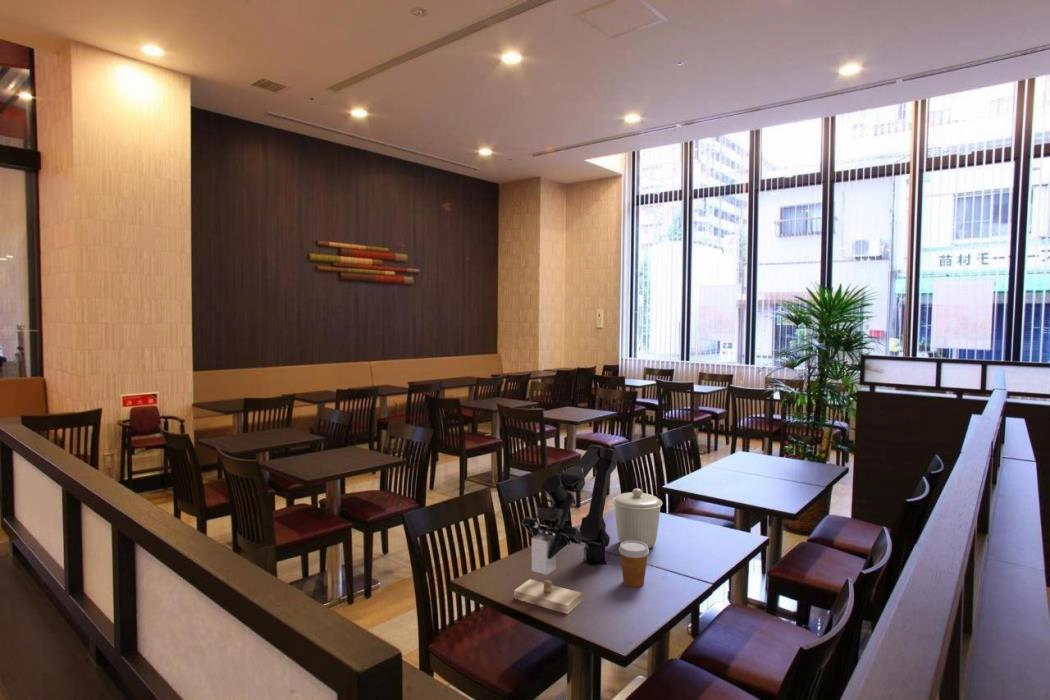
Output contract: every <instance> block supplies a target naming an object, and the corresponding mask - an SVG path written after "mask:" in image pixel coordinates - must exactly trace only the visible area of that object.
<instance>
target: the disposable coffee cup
mask: <svg viewBox="0 0 1050 700" xmlns="http://www.w3.org/2000/svg"><path fill="white" fill-rule="evenodd" d="M649 549H650V548H649ZM649 549H648V546H647V545H646V544H645V543H643V542H639V541H625V542H622V543H620V545H619V547H618V551H619V553H620V562H621V563H620V564H621V570H622V581H623V584H624V585H625V586H628V587H630V588H631V587H632V588H640V587H642V586H644V584H645V578H646V570H647V569H646V568H647V561H648V555H649V553H650V550H649Z"/></svg>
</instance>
